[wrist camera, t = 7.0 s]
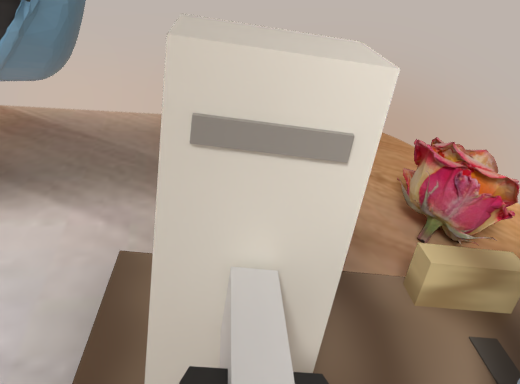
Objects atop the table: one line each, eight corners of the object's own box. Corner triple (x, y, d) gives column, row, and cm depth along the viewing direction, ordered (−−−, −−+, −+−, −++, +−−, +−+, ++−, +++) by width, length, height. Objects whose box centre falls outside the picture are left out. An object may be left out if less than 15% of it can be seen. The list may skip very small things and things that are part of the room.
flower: (485, 272, 31) (553, 173, 31) (365, 197, 34) (428, 107, 34) (463, 277, 40) (516, 200, 40) (370, 217, 43) (419, 146, 43)
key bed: (-9, 651, 13) (-29, 564, 11) (119, 271, 28) (120, 205, 26) (798, 643, 16) (899, 575, 14) (522, 306, 31) (551, 250, 29)
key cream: (141, 421, 18) (165, 35, 11) (156, 338, 21) (181, 13, 15) (298, 429, 18) (402, 70, 12) (286, 348, 22) (361, 41, 16)
